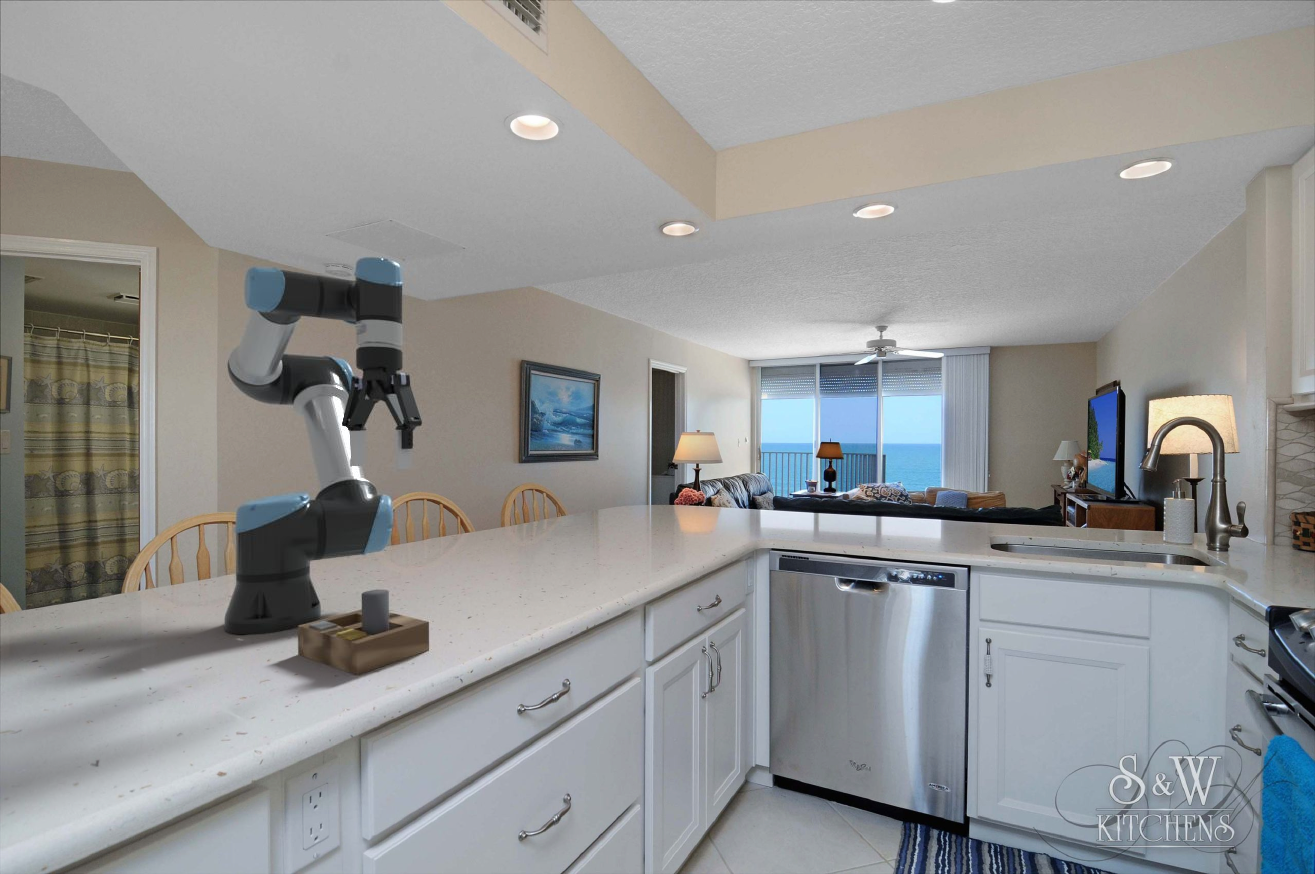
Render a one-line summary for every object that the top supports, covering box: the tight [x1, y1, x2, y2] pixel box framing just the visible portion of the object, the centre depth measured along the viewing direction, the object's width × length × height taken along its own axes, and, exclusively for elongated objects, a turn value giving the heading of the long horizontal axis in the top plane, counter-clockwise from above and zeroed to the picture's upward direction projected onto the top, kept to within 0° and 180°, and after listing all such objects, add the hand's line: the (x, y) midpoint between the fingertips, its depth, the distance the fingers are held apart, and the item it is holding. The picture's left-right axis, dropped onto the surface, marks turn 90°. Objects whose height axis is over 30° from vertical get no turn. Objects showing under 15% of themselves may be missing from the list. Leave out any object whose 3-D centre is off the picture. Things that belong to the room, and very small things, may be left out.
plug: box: [361, 589, 390, 635], centre depth 94 cm, size 4×4×10 cm
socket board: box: [297, 608, 430, 676], centre depth 97 cm, size 16×12×5 cm
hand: (380, 467), depth 109 cm, fingers open, 13 cm apart
